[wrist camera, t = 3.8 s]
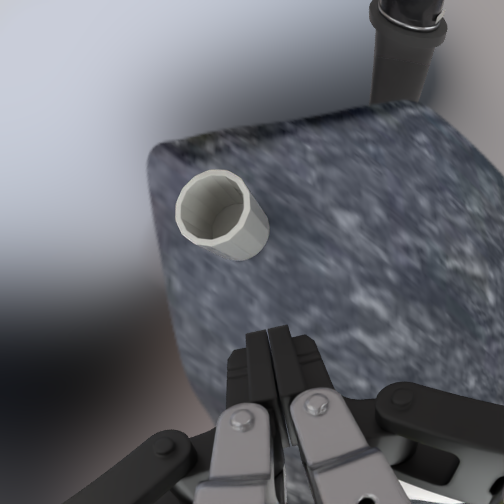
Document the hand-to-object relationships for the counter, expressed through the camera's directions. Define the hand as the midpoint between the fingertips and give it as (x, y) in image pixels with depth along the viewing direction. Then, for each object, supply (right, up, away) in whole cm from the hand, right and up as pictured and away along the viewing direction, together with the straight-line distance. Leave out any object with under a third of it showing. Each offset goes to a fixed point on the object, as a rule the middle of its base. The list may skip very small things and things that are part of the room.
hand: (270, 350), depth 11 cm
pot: (-2, +6, +19) cm, 20 cm away
